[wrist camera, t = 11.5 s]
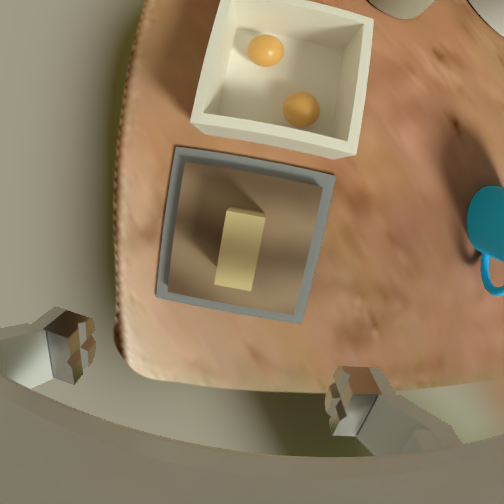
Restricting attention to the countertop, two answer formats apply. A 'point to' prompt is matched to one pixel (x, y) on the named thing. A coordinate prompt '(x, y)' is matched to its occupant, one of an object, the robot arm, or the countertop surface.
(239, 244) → the lid
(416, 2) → the travel mug
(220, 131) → the box
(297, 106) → the clementine
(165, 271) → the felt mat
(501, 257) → the mug
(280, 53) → the clementine
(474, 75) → the countertop surface
